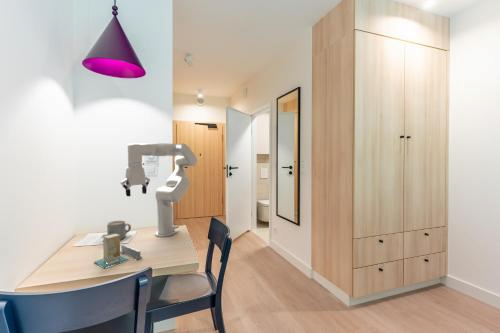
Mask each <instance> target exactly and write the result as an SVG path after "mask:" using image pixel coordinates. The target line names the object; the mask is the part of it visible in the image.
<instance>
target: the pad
mask: <svg viewBox="0 0 500 333" xmlns="http://www.w3.org/2000/svg"><path fill="white" fill-rule="evenodd" d="M126 260H127V261H129V258H126V257H124V256H122V255H120V259H117V260H115V261H112V262H109V263H108V262H107V263H108V264H106V262H105V261H104V257H103V258H100V259H98V260H97V259H96V260H95V261H93V263H94V262H95V263H97V264H99V265H101V266H103V267H104V268H106V267H108V266H111V265H114V264H117V263H119V264H121V263H120V262H122V263H124V262H123V261H125V262H127V261H126ZM95 263H94V264H95ZM97 264H96V265H97ZM99 265H98V266H99ZM117 265H118V264H117ZM101 266H100V267H101ZM114 266H115V265H114ZM103 267H102V268H103ZM111 267H112V266H111ZM104 268H103V269H104ZM106 269H107V268H106Z"/></svg>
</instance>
